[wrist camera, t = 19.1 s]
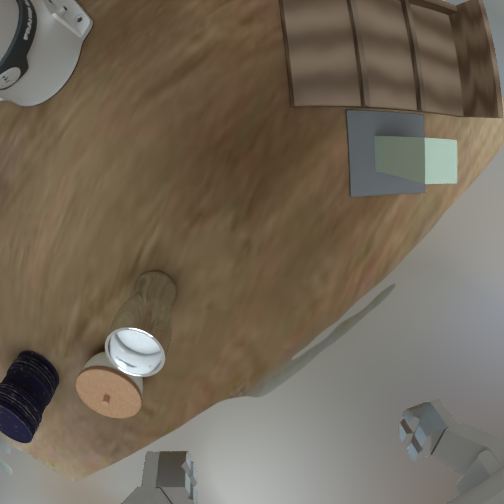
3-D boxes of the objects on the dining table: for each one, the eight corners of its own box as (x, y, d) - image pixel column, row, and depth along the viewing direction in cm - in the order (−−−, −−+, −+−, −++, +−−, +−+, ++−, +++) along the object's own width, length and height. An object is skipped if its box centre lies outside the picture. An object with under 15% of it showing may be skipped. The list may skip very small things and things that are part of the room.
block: (404, 170, 41) (456, 183, 30) (375, 171, 41) (425, 184, 30) (403, 136, 40) (456, 140, 28) (374, 135, 39) (424, 137, 28)
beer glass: (155, 258, 42) (130, 313, 28) (189, 292, 45) (181, 358, 30) (123, 287, 43) (90, 348, 29) (156, 319, 45) (138, 387, 31)
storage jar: (68, 389, 49) (43, 445, 35) (33, 390, 48) (7, 441, 34) (43, 347, 45) (8, 403, 31) (9, 351, 45) (-26, 400, 31)
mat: (423, 192, 43) (425, 192, 43) (349, 196, 42) (351, 197, 42) (421, 115, 39) (423, 114, 39) (345, 110, 38) (346, 110, 38)
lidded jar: (122, 395, 50) (112, 433, 41) (78, 357, 47) (60, 393, 38) (161, 371, 49) (154, 411, 40) (114, 328, 45) (97, 365, 37)
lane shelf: (460, 117, 40) (503, 118, 30) (291, 107, 38) (313, 97, 28) (445, 13, 33) (482, 0, 24) (276, -16, 31) (292, -51, 22)
